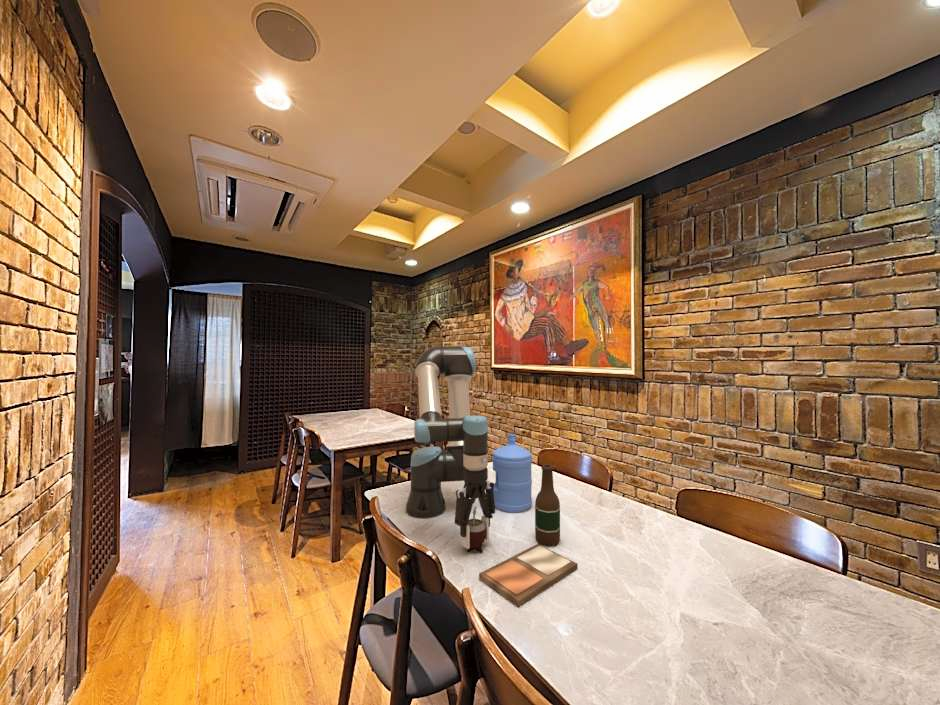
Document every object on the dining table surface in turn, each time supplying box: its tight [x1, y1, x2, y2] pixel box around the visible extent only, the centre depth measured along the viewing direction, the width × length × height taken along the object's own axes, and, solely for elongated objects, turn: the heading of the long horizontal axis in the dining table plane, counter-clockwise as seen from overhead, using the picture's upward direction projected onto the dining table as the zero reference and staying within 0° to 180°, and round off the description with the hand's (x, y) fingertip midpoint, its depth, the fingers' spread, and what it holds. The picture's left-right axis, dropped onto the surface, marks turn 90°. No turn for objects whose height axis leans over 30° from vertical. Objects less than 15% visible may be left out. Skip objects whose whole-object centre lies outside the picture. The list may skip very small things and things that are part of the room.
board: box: [478, 543, 578, 608], centre depth 97 cm, size 14×24×2 cm, turn 130°
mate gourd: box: [466, 506, 486, 553], centre depth 110 cm, size 8×8×15 cm
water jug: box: [491, 433, 533, 513], centre depth 144 cm, size 16×16×28 cm
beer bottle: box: [534, 464, 561, 548], centre depth 115 cm, size 8×8×24 cm
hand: (475, 542), depth 110 cm, fingers closed on mate gourd, 7 cm apart
